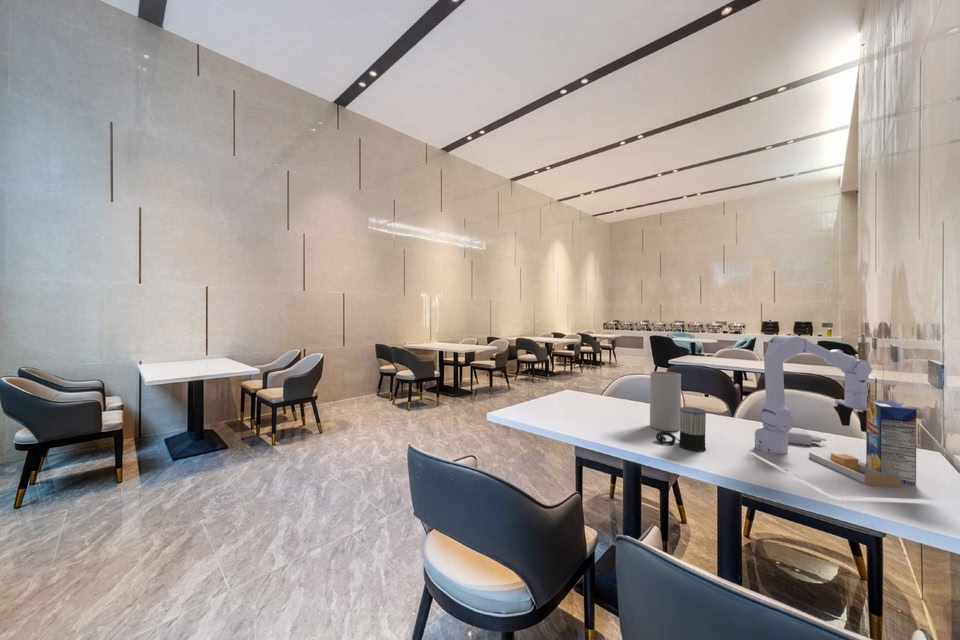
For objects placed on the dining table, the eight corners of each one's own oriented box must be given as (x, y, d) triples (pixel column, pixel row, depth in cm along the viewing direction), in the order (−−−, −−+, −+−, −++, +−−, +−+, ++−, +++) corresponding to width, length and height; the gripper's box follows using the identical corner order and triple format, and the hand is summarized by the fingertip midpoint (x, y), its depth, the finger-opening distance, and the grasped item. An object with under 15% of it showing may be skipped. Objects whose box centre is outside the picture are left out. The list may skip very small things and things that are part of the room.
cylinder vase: (670, 423, 175) (670, 371, 175) (686, 431, 163) (687, 375, 163) (644, 424, 174) (645, 371, 174) (659, 432, 162) (659, 375, 162)
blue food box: (866, 471, 123) (866, 399, 123) (898, 476, 119) (899, 401, 119) (880, 484, 112) (880, 406, 112) (916, 490, 108) (916, 409, 108)
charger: (830, 449, 143) (781, 442, 150) (821, 442, 151) (775, 436, 158) (830, 437, 143) (781, 431, 150) (822, 431, 151) (775, 425, 158)
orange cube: (843, 471, 119) (843, 458, 119) (831, 465, 123) (831, 453, 123) (858, 471, 118) (858, 459, 118) (845, 466, 123) (845, 454, 123)
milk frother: (711, 452, 138) (712, 412, 138) (669, 451, 138) (669, 412, 138) (690, 439, 152) (691, 404, 152) (652, 439, 152) (652, 403, 152)
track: (869, 489, 108) (869, 475, 108) (808, 460, 130) (808, 449, 130) (900, 490, 108) (900, 476, 108) (833, 461, 130) (833, 450, 130)
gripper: (887, 396, 128) (887, 435, 128) (848, 388, 142) (848, 423, 142) (865, 395, 128) (865, 434, 128) (829, 387, 143) (828, 422, 143)
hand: (855, 428), depth 135 cm, fingers open, 7 cm apart
